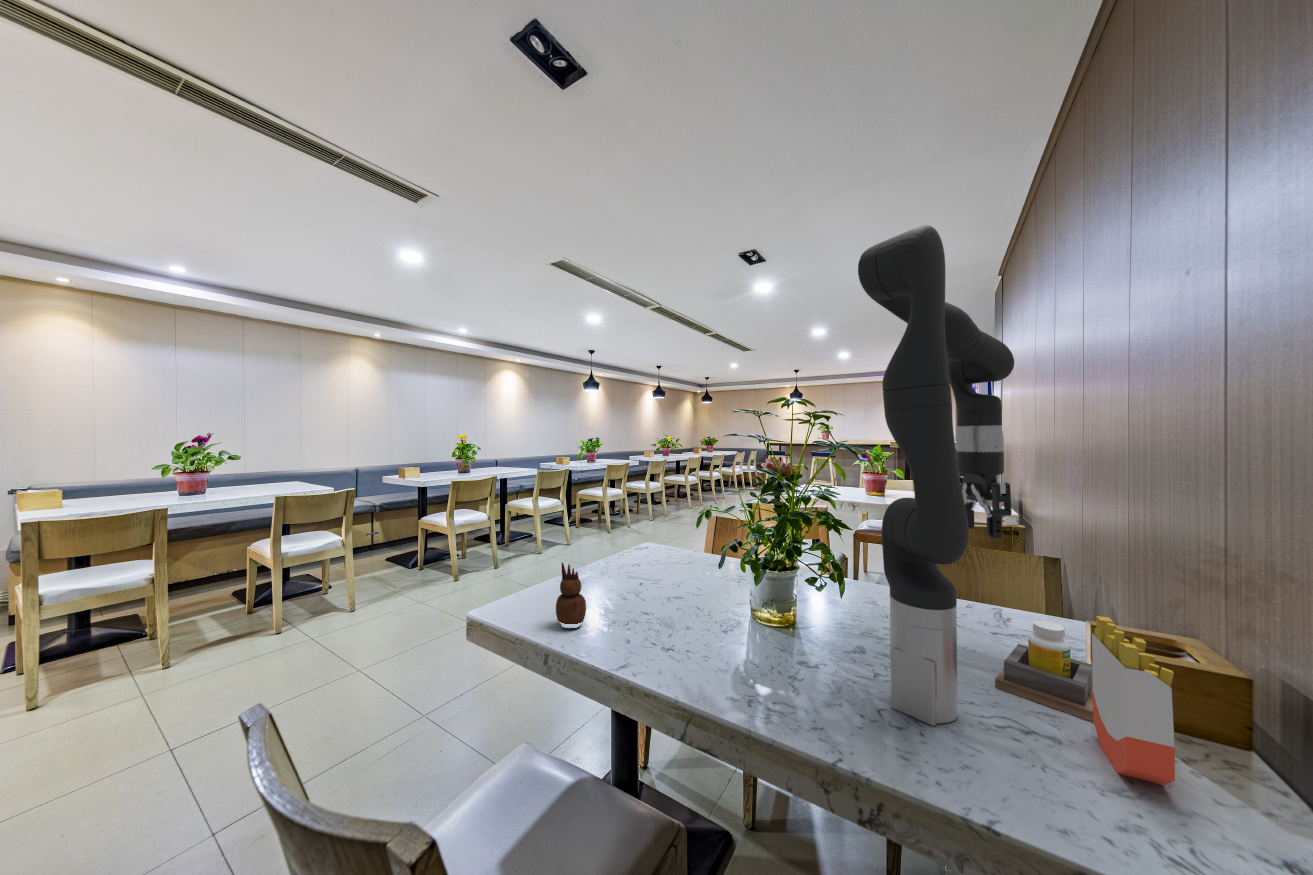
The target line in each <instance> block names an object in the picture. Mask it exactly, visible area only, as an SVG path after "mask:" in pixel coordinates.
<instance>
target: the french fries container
mask: <svg viewBox="0 0 1313 875" xmlns="http://www.w3.org/2000/svg"><path fill="white" fill-rule="evenodd" d="M1095 618H1096V620H1095V623H1096V628H1094V633H1093V632H1092V633H1091V647H1092V648H1091V651H1092V652H1091V657H1092V658H1091V661H1092V662H1091V664H1092V678H1093V720H1094V721H1093V723H1094V728H1095V732H1096V735H1097V738H1098V743H1099V746H1100V749H1101V750H1102V751H1103V753H1104V755H1105V756H1106V758H1107V760H1108V761H1109V763H1110V764H1111V766H1112V767H1113V769H1114V770H1115V772H1116V774H1119V775H1121V776H1126V777H1130V778H1133V779H1137V780H1142V781H1144V780H1145V782H1148V781H1149V783H1152V782H1154V783H1153V784H1156V783H1158V784H1157V785H1160V784H1162V785H1161V786H1165V785H1168V784H1170V783H1173V782H1175V781H1176V769H1175V768H1176V766H1175V765H1176V761H1175V759H1176V758H1175V757H1176V754H1175V753H1176V752H1175V751H1176V750H1175V730H1174V729H1175V728H1174V711H1173V710H1174V709H1173V691H1172V690H1173V689H1172V682H1173V679H1174V674H1175V673H1174V670H1171V669H1167V668H1165V667H1162V666H1160V665H1158V664H1156V657H1155V656H1154V655H1152V654H1150V653H1149V654H1148V653H1146V652H1145V651H1146V648H1147V642H1146V641H1145V640H1144V639H1143V638H1139V637H1136V636H1133V637H1132V640H1131V642H1130V640H1129V639H1127V638H1125V633H1124V631H1122V630H1118V629H1117V625H1116V624H1115V622H1114V621H1113V620H1112V619H1111V618H1110V617H1107V616H1098V615H1096V617H1095Z"/></svg>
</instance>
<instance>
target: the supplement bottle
mask: <svg viewBox="0 0 1313 875" xmlns="http://www.w3.org/2000/svg"><path fill="white" fill-rule="evenodd" d="M1032 630H1033V632H1031V633H1029V635H1028V639H1027V640H1028V641H1027V643H1028V645H1027V646H1028V650H1029V666H1031V667H1034V668H1038V669H1041V670H1044V671H1047V672H1051V673H1054V674H1057V675H1060V676H1063V677H1067V678H1070V679H1071V669H1070V667H1071V665H1070V658H1071V645H1070V642H1068V640H1066V639H1065V636H1066V631H1065V628H1064V626H1062V625H1060V624H1058V623H1055V622H1052V621H1048V620H1035V621H1033V623H1032Z"/></svg>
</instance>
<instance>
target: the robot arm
mask: <svg viewBox="0 0 1313 875" xmlns="http://www.w3.org/2000/svg"><path fill="white" fill-rule="evenodd" d="M857 275H858V280H859V283H860V285H861V287H862V289H863V291H864V292H865V293H866V295H867V296H868V297H869V298H870V299H871V300H873V301H874V302H875V303H876V304H878V305H879V306H881V307H883V308H885V310H887V311H889V313H891V314H892V315H894V316H895V317H897V318H898V319H900V321H901V320H902V321H903V322H904V323H906V324H907V325H906V329H905V331H904V334H903V336H902V338H901V339H900V341H899V343H898V345H897V347H896V349H895V350H894V353H893V354H892V357H891V358H890V361H889V362H888V364H887V367H886V369H885V372H884V375H883V377H882V384H881V385H882V399H883V410H884V418H885V422H886V426H887V428H888V430H889V432H890V434H891V436H892V438H893V440H894V442H895V443H896V445H897V447H898V449H899V450H900V452H901V454H902V456H903V457H904V459H905V461H906V463H907V465H908V467H909V471H910V473H911V474H910V475H911V477H912V483H913V493H914V497H901V498H898V499H897V498H896V499H895V500H894V501H892V502H891V503H890V504H889V505H888V506H887V508H886V510H885V512H884V513H883V514H884V515H883V517H882V524H881V545H882V556H883V557H882V559H883V560H882V561H883V573H884V576H885V579H886V581H887V583H888V587H889V636H890V639H889V642H890V643H889V644H890V645H889V646H890V648H889V649H890V650H889V651H890V652H889V654H890V657H889V659H890V661H889V662H890V663H889V664H890V699H891V702H890V704H891V706H890V707H891V708H892V709H894V710H896V711H898V712H901V713H903V714H905V715H907V716H911V717H913V718H914V719H917V720H919V721H921V722H924V723H925V724H928V725H930V726H933V727H935V726H936V725H938V724H947V723H952V722H954V721H955V720H956V719H958V714H959V708H958V706H959V704H958V703H959V702H958V700H959V699H958V698H959V697H958V696H959V695H958V693H959V692H958V691H959V690H958V631H957V629H958V626H957V624H958V623H957V622H958V620H957V619H958V616H957V615H958V614H957V609H958V608H957V606H958V604H957V600H958V599H957V597H958V596H957V590H956V587H955V586H954V584H953V582H951V581H950V580H949V579H948V578H947V577H946V576H945V575H944V574H943V573H942V571H941V570H940V569H939V566H938V564H939V565H952V564H954V563H955V562H958V561H959V560H960V559H961V558H962V557H963V555H964V554H965V551H966V549H967V548H968V547H967V546H968V543H969V537H970V536H969V535H970V532H969V531H970V529H974V528H975V510H974V508H975V507H976V504H977V503H978V505H979V506H980V507H981V508H983V509H984V512H985V514H986V536H987V537H989V538H990V539H1001V538H1002V537H1003V519H1004V518H1005V517H1009V516H1012V515H1013V514H1012V499H1011V498H1012V496H1011V494H1012V493H1011V484H1010V482H998V479H997V476H999V475H1003V474H1004V473H1005V445H1004V444H1005V443H1004V441H1005V439H1004V438H1005V437H1004V431H1003V422H1002V420H1003V419H1002V418H1003V416H1002V414H1003V411H1002V410H1003V409H1002V408H1003V406H1002V400H1001V398H1000V397H999V396H997V395H993V394H985V393H984V394H983V393H978V392H976V390H975V389H974V388H973V384H983V383H993V382H999V381H1002V380H1004V379H1006V378H1008V377H1009V376H1010V374H1011V373H1012V372H1013V370H1014V367H1015V358H1014V355H1013V353H1012V351H1011V349H1010V348H1009V347H1008V346H1007V344H1005V343H1004V342H1002V341H1001V340H1000V339H997V338H996V337H993V336H992V335H990V334H989V333H986V332H984V331H982V330H981V329H980V328H979V327H978V326H977V324H976V323H975V322H974V321H973V319H972V318H971V316H970V315H969V314H968V313H967V312H965V311H964V310H963V309H962V308H960V307H958V306H956V305H954V304H952V303H950V302H946V255H945V249H944V244H943V241H942V238H941V236H940V233H939V232H938V230H937V229H936V228H935V227H933V226H932V225H928V224H927V225H921V226H918V227H914V228H912V229H909V230H907V231H904V232H902V233H901V234H898V235H895V236H893V237H891V238H888V239H886V240H884V241H881V242H879V243H876V244H874V245H872V246H871V247H869V248H867V249H866V250H865V251H863V252H862V254H861V255H860V258H859V260H858V263H857ZM951 389H952V390H951ZM952 394H953V397H954V401H955V404H956V419H957V420H956V423H957V424H956V427H957V428H956V434H955V433H954V424H953V422H954V421H953V419H954V418H953V400H952ZM954 434H955V435H954ZM959 474H961V475H959ZM1002 505H1003V506H1002Z"/></svg>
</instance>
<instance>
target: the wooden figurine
mask: <svg viewBox="0 0 1313 875" xmlns="http://www.w3.org/2000/svg"><path fill="white" fill-rule="evenodd" d="M559 591H560V593H561V594H559V595H558V597H557V599H556V603H555V615H556V618H557V622H558V621H559V622H561V623H564V624H578V623H581V622H584V620H585V617H586V613H587V604H586V599H585V597H584V596H583V595H582V594H581V593H580V592H581V591H582V582H581V580H580V577H579V573H578V571H576V572H575V568H574V567H573V568H572V569H571V564H570V563H569V564H568V566H567V569H566V568H565V563H564V562H561V580H560V584H559ZM559 622H558V623H559Z"/></svg>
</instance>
